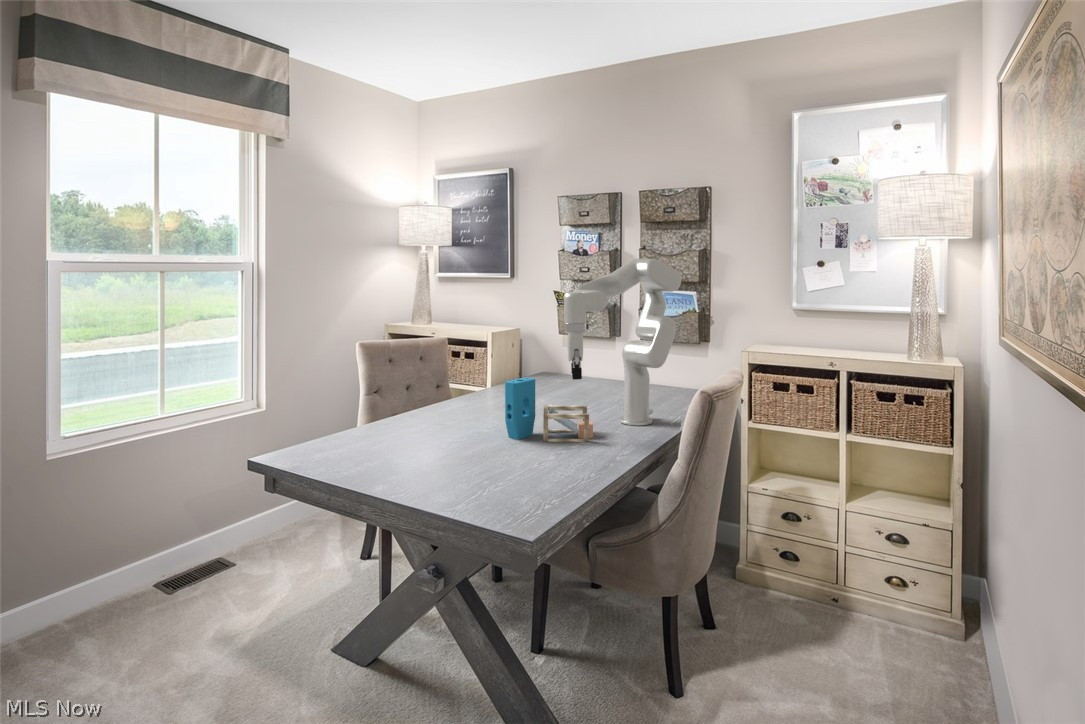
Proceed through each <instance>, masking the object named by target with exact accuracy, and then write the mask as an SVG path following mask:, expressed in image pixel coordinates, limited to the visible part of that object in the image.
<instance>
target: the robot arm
mask: <svg viewBox="0 0 1085 724" xmlns="http://www.w3.org/2000/svg"><path fill="white" fill-rule="evenodd" d="M639 283H640V287H641V289H642V292H643V297H644V303H643V306H642V309H641V311H640V314H639V317H638V320H637V322H636V325H635V330H634V331H635V332H634V333H635V334H636V337H638V338H639V339H640V340H636V339H635V340H631V341H628V342H626V343H625V344H624V345H623V347H622V352H621V355H622V362H623V369H624V380H623V382H624V384H623V385H624V386H623V388H624V389H623V390H624V391H623V392H624V393H623V416H621V417H619V422H620V423H621V424H624V425H627V426H637V427H638V426H639V427H640V426H648V425H651V424H653V419H652V417H650V415H652V414H654V409H652V408H650V381H651V380H650V373H649V370H648V368H651V369H660V368H661V367H662V366H663V365H664V364H665V363H666V360H667V358H668V355H669V354H670V351H671V348H672V345H673V342H674V340H675V336H676V332H677V330H676V329H677V327H676V322H675V321H674V319H673V318H671V317H669V316H665V312H666V311H667V310H666V309H667V302H666V299H665V297H664V295H663V293H665V292H668V293H671V292H673V293H674V292H675V291H677V290H679V288H680V287H681V284H682V276H681V274H680V272H679V270H677V269H676V268H674V267H672V266H670V265H668V264H667V263H664V262H662V261H660V260H658V259H655V258H635V259H632V260H630V261H628V262H626V263H625V264H623V265H622V266H620V267H618V268H617V269H616V270H614V271H612V272H611V273H609V274H606V275H603V276H600V277H598V278H595V279H592V280H589V281H587V282H585V283H584V284H582V285H580V286H579V287H577V288H576V289H574V290H573V291H570V292H566V293H565V294H564V295H563V306H564V307H563V309H564V310H563V313H564V315H563V316H564V319H563V320H564V333H565V334H567V360H568V362H571V363H570V365H571V366H570V367H571V375H572V378H571V379H572V380H574V381H575V380H582V379H583V371H582V361H583V355H584V334H585V333H587V312H592V313H593V312H594V313H598V312H601V311H603V310H605V309H606V307H607V305H608V298H610V297H616V296H619V295H622V294H624V293H626V292H628V291H629V290H630V289H632V288H633V287H635V286H637V285H638V284H639ZM662 292H663V293H662ZM641 339H642V340H641ZM644 340H645V341H644ZM649 408H650V409H649Z"/></svg>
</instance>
